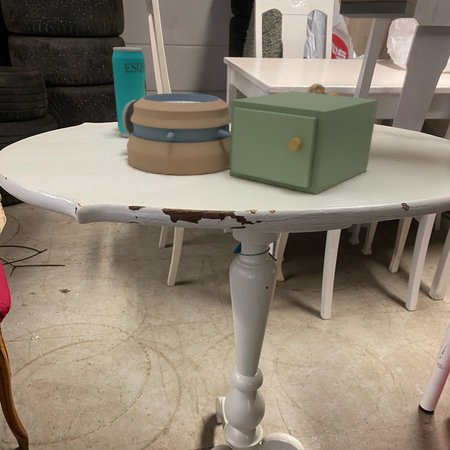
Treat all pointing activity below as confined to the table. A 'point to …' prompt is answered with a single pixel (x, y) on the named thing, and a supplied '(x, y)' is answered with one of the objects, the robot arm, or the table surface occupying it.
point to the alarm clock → (178, 133)
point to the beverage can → (128, 79)
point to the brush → (378, 8)
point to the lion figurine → (319, 90)
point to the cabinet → (301, 139)
